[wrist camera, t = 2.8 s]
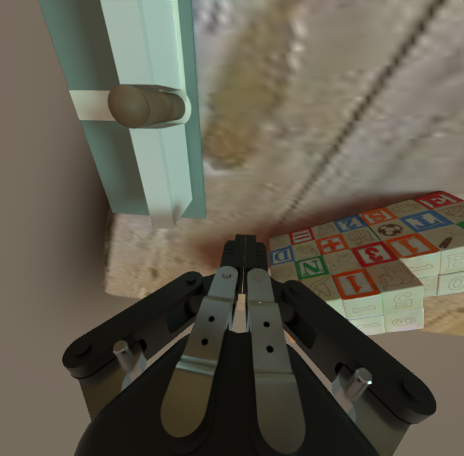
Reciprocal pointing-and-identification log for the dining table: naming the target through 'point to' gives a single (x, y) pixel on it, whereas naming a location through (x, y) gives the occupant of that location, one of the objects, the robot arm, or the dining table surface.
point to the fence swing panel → (163, 171)
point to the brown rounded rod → (143, 106)
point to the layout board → (99, 86)
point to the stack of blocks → (379, 261)
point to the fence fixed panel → (144, 42)
